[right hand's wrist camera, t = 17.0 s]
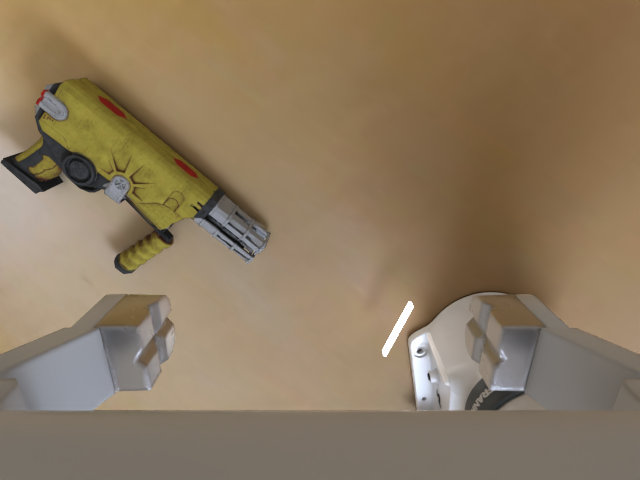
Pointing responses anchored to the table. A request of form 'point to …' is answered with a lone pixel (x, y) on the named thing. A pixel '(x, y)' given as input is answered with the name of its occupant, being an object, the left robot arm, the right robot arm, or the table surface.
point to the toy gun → (127, 171)
